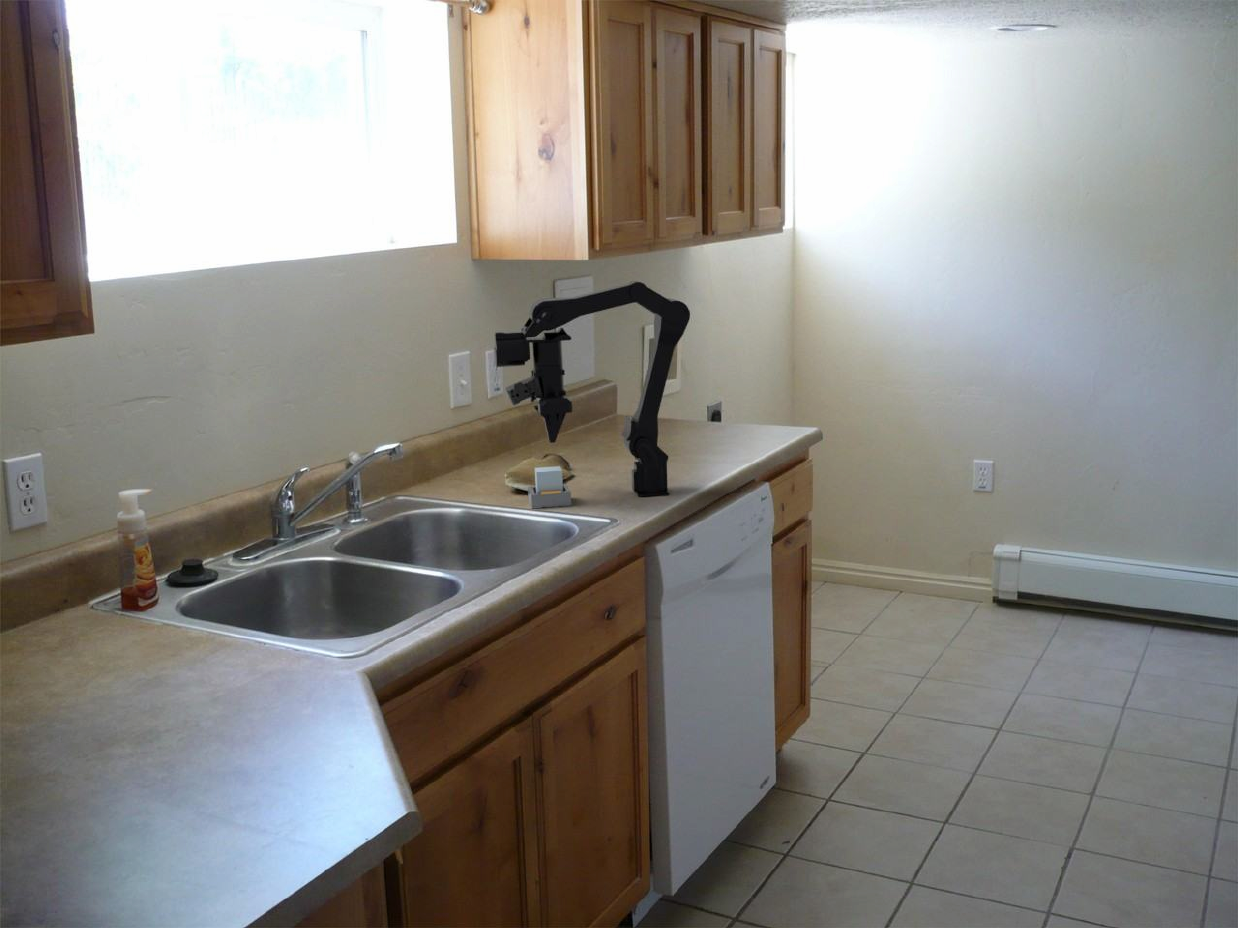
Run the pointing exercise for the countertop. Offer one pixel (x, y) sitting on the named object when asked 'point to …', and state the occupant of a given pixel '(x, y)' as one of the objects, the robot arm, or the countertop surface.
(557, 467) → the pale blue upright block
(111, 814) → the countertop surface
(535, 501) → the rack
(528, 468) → the stone tool
